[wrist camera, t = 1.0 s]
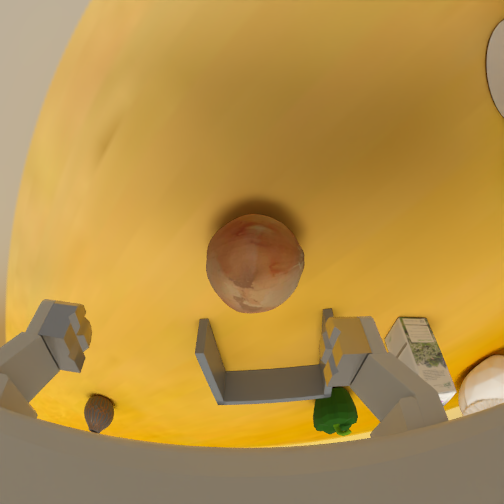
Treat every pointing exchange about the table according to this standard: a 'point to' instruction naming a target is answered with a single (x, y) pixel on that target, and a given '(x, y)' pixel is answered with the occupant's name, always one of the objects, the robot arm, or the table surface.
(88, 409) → the vase
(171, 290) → the table surface
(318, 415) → the bell pepper
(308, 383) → the box
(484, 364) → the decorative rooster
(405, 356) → the syrup box
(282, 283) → the onion
